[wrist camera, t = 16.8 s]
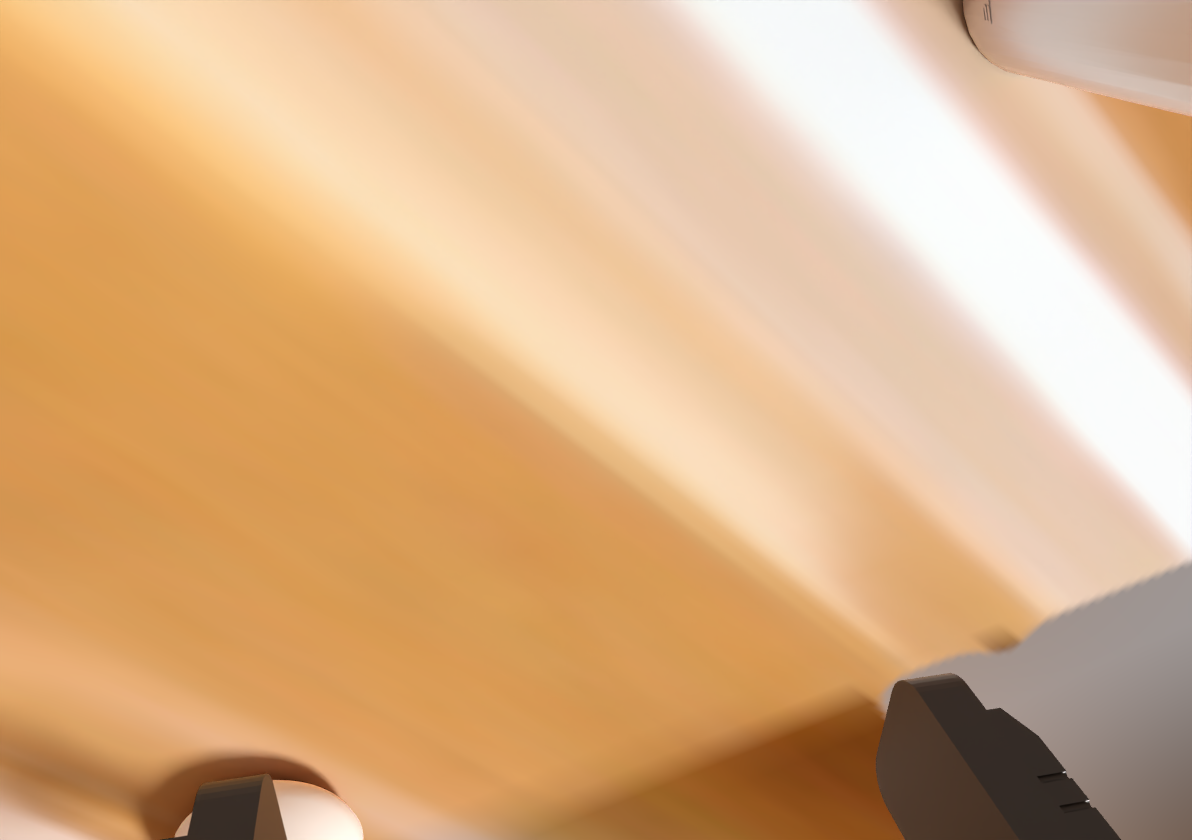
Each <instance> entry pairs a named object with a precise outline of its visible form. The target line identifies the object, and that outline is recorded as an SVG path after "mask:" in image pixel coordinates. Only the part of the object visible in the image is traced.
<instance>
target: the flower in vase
mask: <svg viewBox="0 0 1192 840" xmlns="http://www.w3.org/2000/svg"><path fill="white" fill-rule="evenodd" d="M272 781H273V784H274V788H275V792H276V796H277V800H278V804H279V808H280V813H281V817H282V821H283V825H284V829H285V833H286V837H287V840H363V830H362V826H361V824H360V821H359V819H358V818H357V816H356V814H355V813H354V812H353V811H352V810H351V809H350V807H349V806H348V805H347V804H346V803H345V802H344V801H343V800H342V799H341V798H339V797H338V796H337V795H335V794H333V793H332V792H330V791H328V790H326V789H323V788H321V787H318V786H315V785H312V784H308V783H304V782H298V781H291V780H272ZM191 816H192V813H191V814H190V815H188V816H187V817H186V819H185V820H184V821H183V822H182V823H181V825H180V826H179V828H178V830H177V832H176V834H175V837H181V836H187V834H188V830H189V825H190V821H191Z"/></svg>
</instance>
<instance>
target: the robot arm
mask: <svg viewBox="0 0 1192 840" xmlns="http://www.w3.org/2000/svg"><path fill="white" fill-rule="evenodd" d="M963 9H964V16H965V20H966V23H967V27H968V30H969V34H970V35H971V37H972V39H973V41H974V43H975V44H976V46H977V48H978V50H979V51H980V52H981V53H982V54H983V55H984V56H985V57H986V58H987V59H988V60H989V61H990V62H991V63H993V64H994V65H996V66H998V67H1000V68H1001V69H1003V70H1005V71H1008V72H1012V73H1016V74H1020V75H1024V76H1028V77H1032V78H1036V79H1040V80H1044V81H1048V82H1052V83H1056V84H1060V85H1063V86H1066V87H1071V88H1075V89H1079V90H1083V91H1087V92H1091V93H1096V94H1100V95H1104V96H1108V97H1112V98H1116V99H1121V100H1125V101H1129V102H1133V103H1137V104H1141V105H1146V106H1150V107H1154V108H1158V109H1162V110H1166V111H1171V112H1175V113H1179V114H1183V115H1187V116H1191V117H1192V0H963ZM876 773H877V780H878V784H879V788H880V791H881V794H882V797H883V799H884V802H885V804H886V806H887V808H888V810H889V812H890V813H891V815H892V817H893V819H894V820H895V822H896V824H897V826H898V828H899V829H900V831H901V833H902V835H903V836H904V838H905V840H1121V839H1120V838H1119V837H1118V835H1117V834H1116V833H1115V831H1114V830H1113V829H1112V828H1111V827H1110V826H1109V824H1108V823H1107V821H1106V820H1105V819H1104V818H1103V816H1102V815H1101V814H1100V813H1099V811H1098V810H1097V809H1096V808H1092V807H1091V806H1090V803H1089V799H1088V798H1087V796H1086V795H1085V794H1084V793H1083V791H1082V790H1081V789H1080V788H1079V786H1078V785H1077V784H1076V783H1075V781H1074V780H1073V779H1072V778H1070V779H1069V778H1068V777H1067V774H1066V770H1065V769H1064V768H1063V767H1062V765H1061V764H1060V762H1059V761H1058V760H1057V759H1056V758H1055V756H1054V755H1053V754H1052V752H1051V751H1050V750H1049V749H1048V747H1047V746H1046V745H1045V744H1044V742H1043V741H1042V740H1041V739H1040V738H1039V736H1038V735H1036V734H1035V733H1034V732H1032V731H1031V730H1030V729H1028V728H1027V727H1025V726H1024V725H1023V724H1021V723H1020V722H1019V721H1017V720H1016V719H1014V718H1013V717H1012V716H1011V715H1009V714H1008V713H1007V712H1005V711H1004V710H1002V709H1001V708H997V709H990V710H986V709H985V707H984V706H983V705H982V703H981V702H980V701H979V700H978V698H977V697H976V696H975V694H974V693H973V692H972V690H971V689H970V688H969V686H968V685H967V684H966V683H965V681H963V679H961V678H960V677H959V676H957V675H955V674H952V673H948V674H941V675H935V676H928V677H922V678H915V679H908V680H901V681H898V682H897V683H896V684H895V686H894V688H893V690H892V694H891V698H890V702H889V706H888V710H887V714H886V718H885V723H884V727H883V731H882V735H881V739H880V743H879V747H878V752H877V756H876ZM162 840H287V837H286V833H285V829H284V825H283V821H282V817H281V813H280V808H279V804H278V800H277V796H276V792H275V788H274V784H273V781H272V778H271V776H270V775H269V774H261V775H254V776H248V777H241V778H235V779H228V780H221V781H215V782H208V783H203V784H202V785H201V786H200V788H199V790H198V792H197V795H196V799H195V803H194V807H193V812H192V816H191V821H190V825H189V830H188V834H187V836H181V837H174V838H168V839H162Z"/></svg>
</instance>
